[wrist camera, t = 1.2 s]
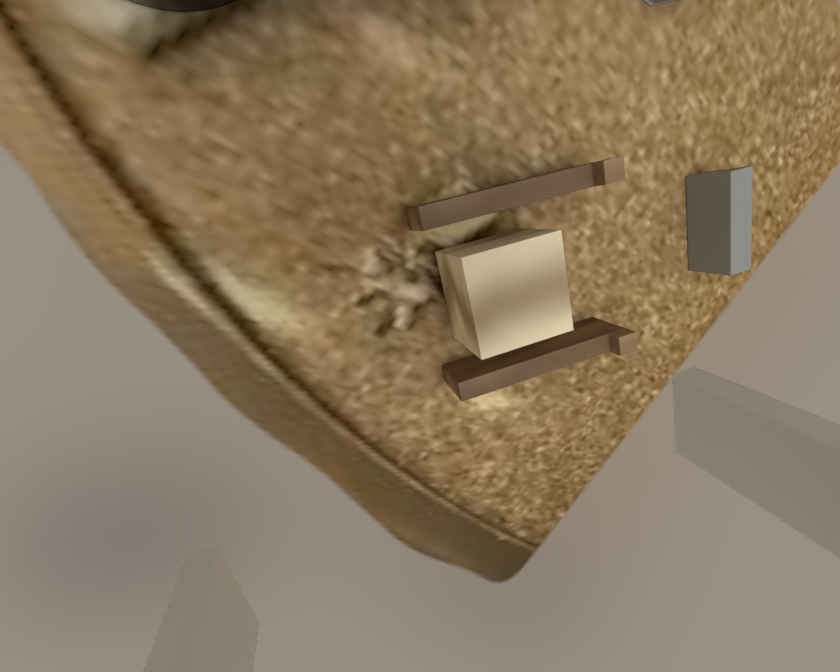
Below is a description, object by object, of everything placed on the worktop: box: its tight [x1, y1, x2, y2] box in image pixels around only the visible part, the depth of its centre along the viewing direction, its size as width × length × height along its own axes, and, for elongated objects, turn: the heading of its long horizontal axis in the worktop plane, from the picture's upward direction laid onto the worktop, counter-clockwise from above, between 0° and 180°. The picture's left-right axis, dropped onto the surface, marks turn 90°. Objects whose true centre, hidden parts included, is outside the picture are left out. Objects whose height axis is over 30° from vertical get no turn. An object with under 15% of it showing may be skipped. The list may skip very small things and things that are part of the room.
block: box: [435, 229, 574, 360], centre depth 30 cm, size 7×7×6 cm
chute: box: [405, 156, 638, 401], centre depth 31 cm, size 14×14×5 cm
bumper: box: [686, 166, 752, 275], centre depth 34 cm, size 8×2×4 cm, turn 14°
